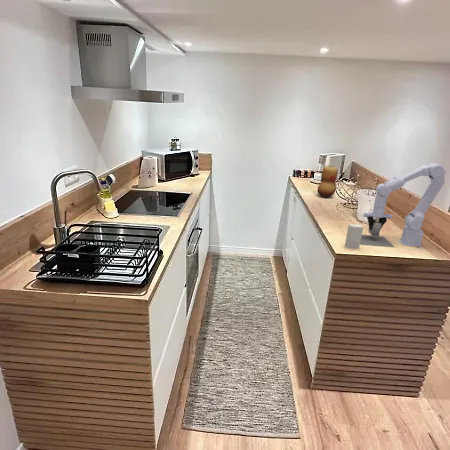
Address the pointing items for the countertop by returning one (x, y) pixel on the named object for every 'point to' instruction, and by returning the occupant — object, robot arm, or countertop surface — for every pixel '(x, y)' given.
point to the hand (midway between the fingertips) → (374, 230)
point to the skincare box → (353, 236)
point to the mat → (375, 241)
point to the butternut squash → (328, 181)
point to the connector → (375, 227)
